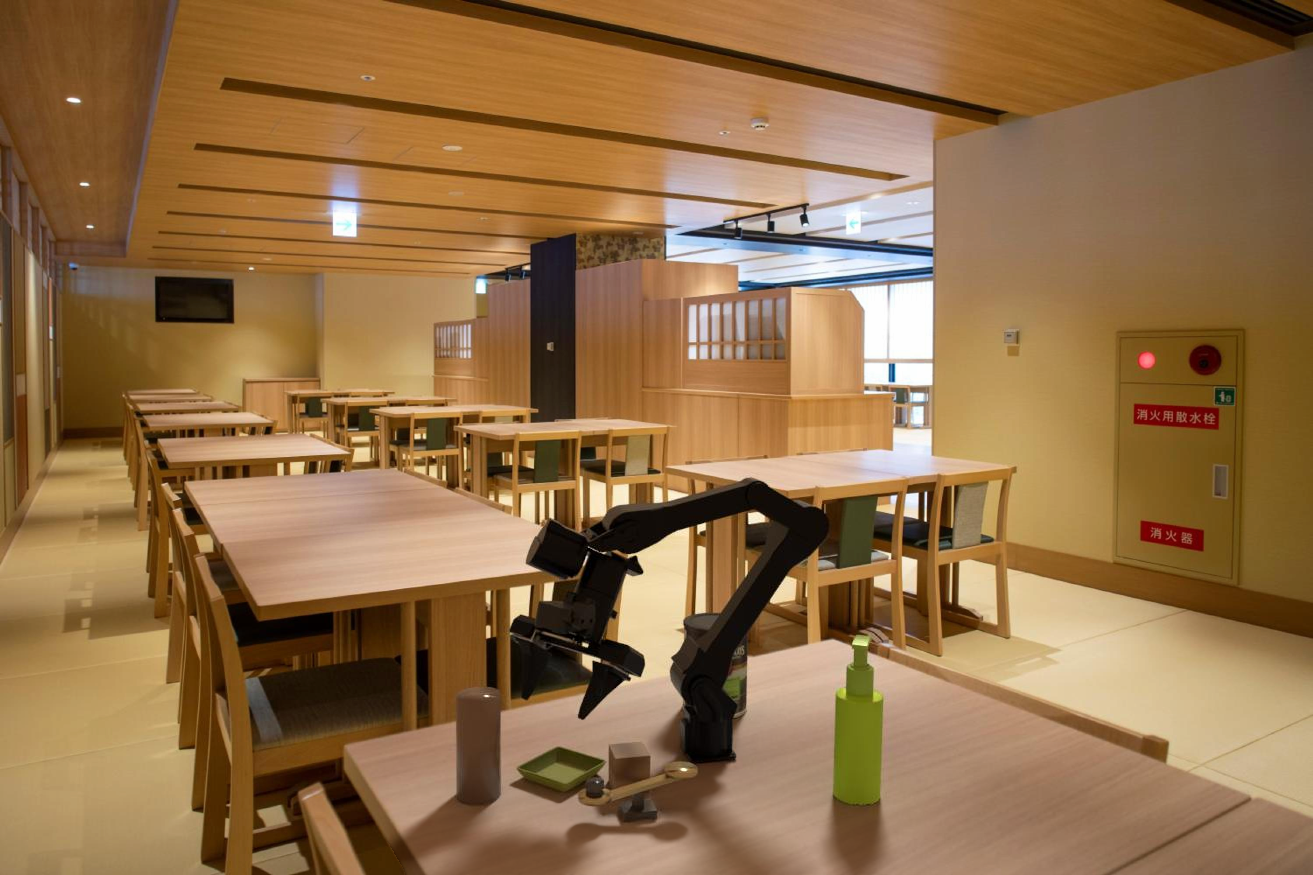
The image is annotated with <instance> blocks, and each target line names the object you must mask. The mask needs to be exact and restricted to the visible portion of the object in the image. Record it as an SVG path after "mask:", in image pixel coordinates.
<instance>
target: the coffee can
mask: <svg viewBox="0 0 1313 875" xmlns="http://www.w3.org/2000/svg"><path fill="white" fill-rule="evenodd" d="M720 613H721V612H701V613H695V614H694V613H693V614H691V615H689V616H686V617H685V618H684V619H682V620H683V621H682V622H683V623H682V625H683V641H684V640H685V638H686V637H687V636H690V637H691V638H692V639H693V640H694V641H696V640H697V639H699V638H700V637H702V636H703V635H705V634H706V633H707V632H708V631H709V629H710V628H711V626H712V625H713V623H714V622H715V621H716V619H717V618H718V616H719V615H720ZM748 644H749V632H748V633H747V635H746V636H745V638H744V639H743V640H742V642H741V643H740V645H739V646H738V648H737V649H736V651H735V653H734V655H733V658H732V663H731V667H730V671H729V675H728V678H727V680H726V682H725V685H724V687H723V688H724V689H725V691H726V692H727V693H728V694H729V695H730V696H731V698H732V699H733V700H734V701H735V702H736V703H737V705H738V706H737V709H736V712H735V715H734V718H733V719H736V718H739V717H742V716H743V715H745V714H746V712H747V710H748V708H747V702H748V701H747V695H748V690H747V689H748V657H749V656H748V655H749V654H748V653H749V651H748V650H749V648H748V647H749V645H748ZM686 706H690V705H688V704H687V703H686V702H685V701H684V700H683V699H682V706H681V707H682V710H683V711H684V707H686Z"/></svg>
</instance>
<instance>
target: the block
mask: <svg viewBox="0 0 1313 875" xmlns="http://www.w3.org/2000/svg"><path fill="white" fill-rule="evenodd" d="M649 778H651V754H650V752H649V751H648V749H647V747H646V745H645V743H644V741H634V742H633V741H631V742H621V743H620V742H619V743H610V744H608V784H609V785H610V788H611V790H614V789H617V788H620V787H623V786H627V785H630V784H633V783H636V782H640V781H643V780H646V779H649ZM646 794H651V789H649V790H645V791H644V795H646Z"/></svg>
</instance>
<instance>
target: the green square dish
mask: <svg viewBox="0 0 1313 875" xmlns="http://www.w3.org/2000/svg"><path fill="white" fill-rule="evenodd" d="M605 764H607V760H606V759H604V758H600V757H598V756H593V755H590V754H587V753H583V752H580V751H577V750H573V749H570V748H568V747H564V746H561V745H560V746H559V745H558V746H555V747H553V748H550V749H548V750H547V751H545V752H543V753H541V754H539V755H537V756H535V757H533V758H531V759H529V760H527V761H526V762H523V763H522V764H519V765H517V766H516V768H515V769H516V770H517V772H518V773H519V774H520V775H521V776H522V777H523V778H525V779H526V780H527V781H530V782H533V783H537V784H539V785H542V786H546V787H548V788H551V789H554V790H556V791H559V792H563V793H566V792H568V791H570V790H571V789H573V788H575V787H577V786H579V785H580V784H582V783H584V782H586V780H587V779H589V778H594V776H596V775H597V774H598V773H599V772H600V771H601V770H602V768H604V766H605Z"/></svg>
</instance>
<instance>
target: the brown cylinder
mask: <svg viewBox="0 0 1313 875" xmlns="http://www.w3.org/2000/svg"><path fill="white" fill-rule="evenodd" d="M501 695H502V692H501V691H500V690H499V689H497V688H495V687H491V686H473V687H467V688H464V689H461V690H459V691H458V692H456V695H455V754H456V755H455V760H456V762H455V766H456V767H455V768H456V769H455V771H456V773H455V774H456V775H455V776H456V778H455V781H456V785H455V786H456V788H455V790H456V792H455V793H456V800H457V801H458V802H459V803H461V804H465V805H468V806H482V805H487V804H490V803H493V802H496V801H497V800H498V799H499V798H500V797H501V795H502V768H501V767H502V738H501V737H502V732H501V730H502V729H501V728H502V725H501V724H502V718H501V717H502V716H501V713H502V711H501V709H502V707H501V706H502V702H501V701H502V699H501V698H502V696H501Z"/></svg>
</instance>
